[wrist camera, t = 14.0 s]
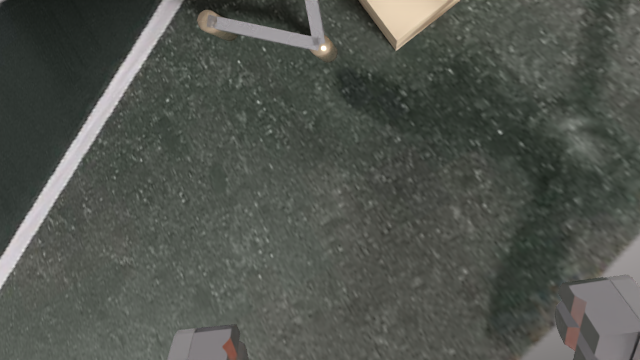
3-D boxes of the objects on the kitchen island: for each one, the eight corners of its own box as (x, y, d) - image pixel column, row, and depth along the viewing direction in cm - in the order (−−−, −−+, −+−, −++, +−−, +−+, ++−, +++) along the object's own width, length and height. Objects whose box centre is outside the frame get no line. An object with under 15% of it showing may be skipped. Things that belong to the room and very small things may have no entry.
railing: (275, 107, 36) (259, 106, 32) (217, 30, 36) (193, 19, 32) (373, 28, 35) (371, 16, 30) (312, -54, 34) (301, -78, 30)
